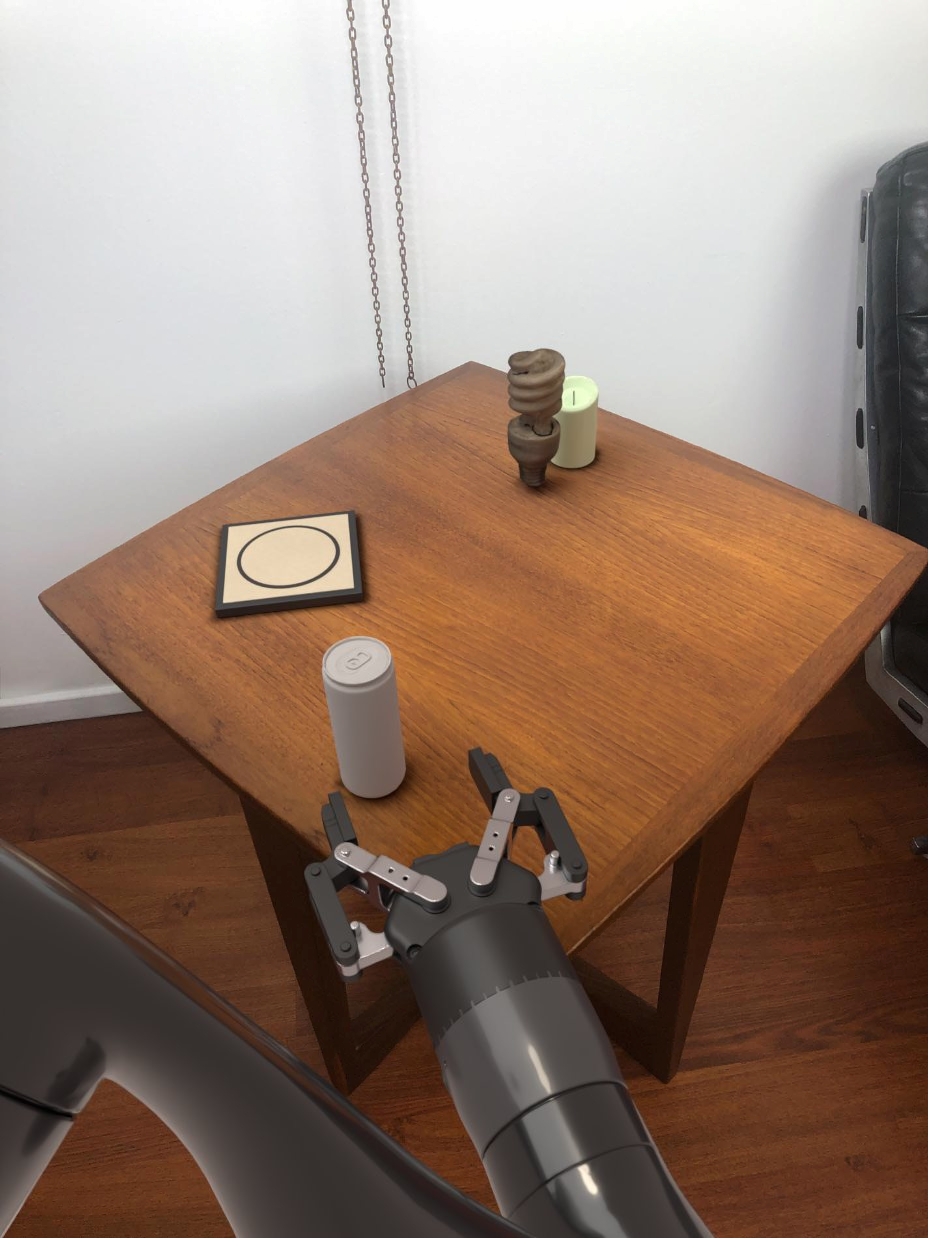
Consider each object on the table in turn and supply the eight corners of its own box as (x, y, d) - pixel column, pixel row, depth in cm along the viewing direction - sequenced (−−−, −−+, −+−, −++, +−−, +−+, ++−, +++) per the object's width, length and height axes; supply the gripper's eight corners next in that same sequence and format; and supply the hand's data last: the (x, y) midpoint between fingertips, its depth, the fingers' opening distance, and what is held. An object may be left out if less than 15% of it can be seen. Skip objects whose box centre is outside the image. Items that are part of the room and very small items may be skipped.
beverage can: (328, 779, 71) (304, 662, 63) (375, 741, 74) (358, 624, 66) (373, 814, 68) (354, 696, 61) (420, 774, 71) (408, 656, 63)
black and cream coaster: (217, 618, 85) (214, 608, 84) (224, 532, 95) (221, 522, 94) (363, 601, 86) (362, 590, 85) (355, 518, 96) (354, 508, 95)
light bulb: (572, 484, 99) (578, 348, 89) (539, 508, 96) (542, 370, 86) (529, 466, 102) (530, 332, 92) (496, 489, 99) (493, 353, 89)
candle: (585, 472, 100) (589, 402, 95) (540, 463, 102) (542, 393, 97) (601, 449, 104) (605, 379, 98) (557, 440, 106) (559, 371, 100)
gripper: (658, 936, 44) (517, 699, 56) (359, 1052, 41) (275, 774, 52) (643, 1014, 49) (516, 782, 60) (376, 1124, 45) (295, 855, 57)
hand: (405, 778), depth 56 cm, fingers open, 8 cm apart
